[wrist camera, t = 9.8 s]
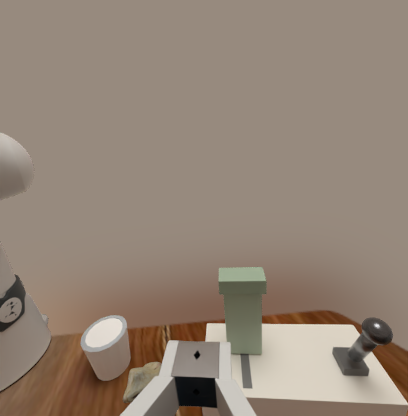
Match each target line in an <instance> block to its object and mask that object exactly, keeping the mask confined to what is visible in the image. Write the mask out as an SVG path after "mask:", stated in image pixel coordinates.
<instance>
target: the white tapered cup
mask: <svg viewBox="0 0 408 416" xmlns="http://www.w3.org/2000/svg"><path fill="white" fill-rule="evenodd" d="M81 346H82V348H83V350H84V352H85V354H86V356H87V358H88V360H89V362H90V364H91V366H92V368H93V370H94V372H95V374H96V376H97V377H98V379H100V380H102V381H109V380H112V379H114V378H117V377H118V376H119V375H121V374H122V373H123V372H124V371H125V370H126V368H127V367H128V365H129V363H130V359H131V356H130V348H129V340H128V332H127V324H126V320H125V319H124V318H123V317H121V316H118V315H112V316H107V317H104V318H101V319H99V320H98V321H96V322H94V323H93V324H92V325H91V326H90V327H89V328H88V329H87V330H86V331H85V332H84V334H83V336H82V337H81Z"/></svg>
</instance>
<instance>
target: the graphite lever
mask: <svg viewBox="0 0 408 416" xmlns="http://www.w3.org/2000/svg"><path fill="white" fill-rule="evenodd" d="M362 331H363V332H362V334H361V335H360V336H359V337H358V339H357V340H356V341H355V342H354V344H353V345H352V346H351V347H350V349H349V350H348V357H349V358H350V359H351V360H352V361H353V362H355V363H360V362H362V361H363V359H364V358H365V357H366V356H367V355H368V354H369V353H370V352H371V351H372V350H373V349H374V348H375V347H376V346H377V345H387V344H389V343H390V342H391V341H392V338H393V334H392V331H391V328H390V327H389V326H388V325H387V324H386V323H385V322H384V321H382V320H380V319H378V318H367V319H365V320H364V321H363V323H362Z"/></svg>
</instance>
